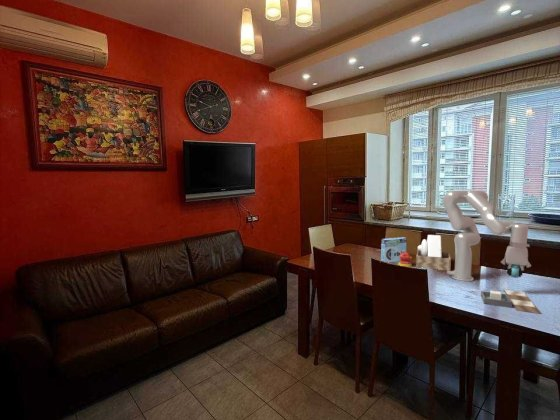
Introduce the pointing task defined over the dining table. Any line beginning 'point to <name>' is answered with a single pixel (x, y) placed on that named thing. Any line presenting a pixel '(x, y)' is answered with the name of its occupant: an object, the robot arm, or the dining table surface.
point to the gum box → (392, 249)
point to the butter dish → (431, 246)
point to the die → (495, 295)
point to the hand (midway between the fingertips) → (514, 275)
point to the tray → (503, 302)
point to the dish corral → (434, 261)
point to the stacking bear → (405, 260)
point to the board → (521, 301)
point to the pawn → (515, 271)
